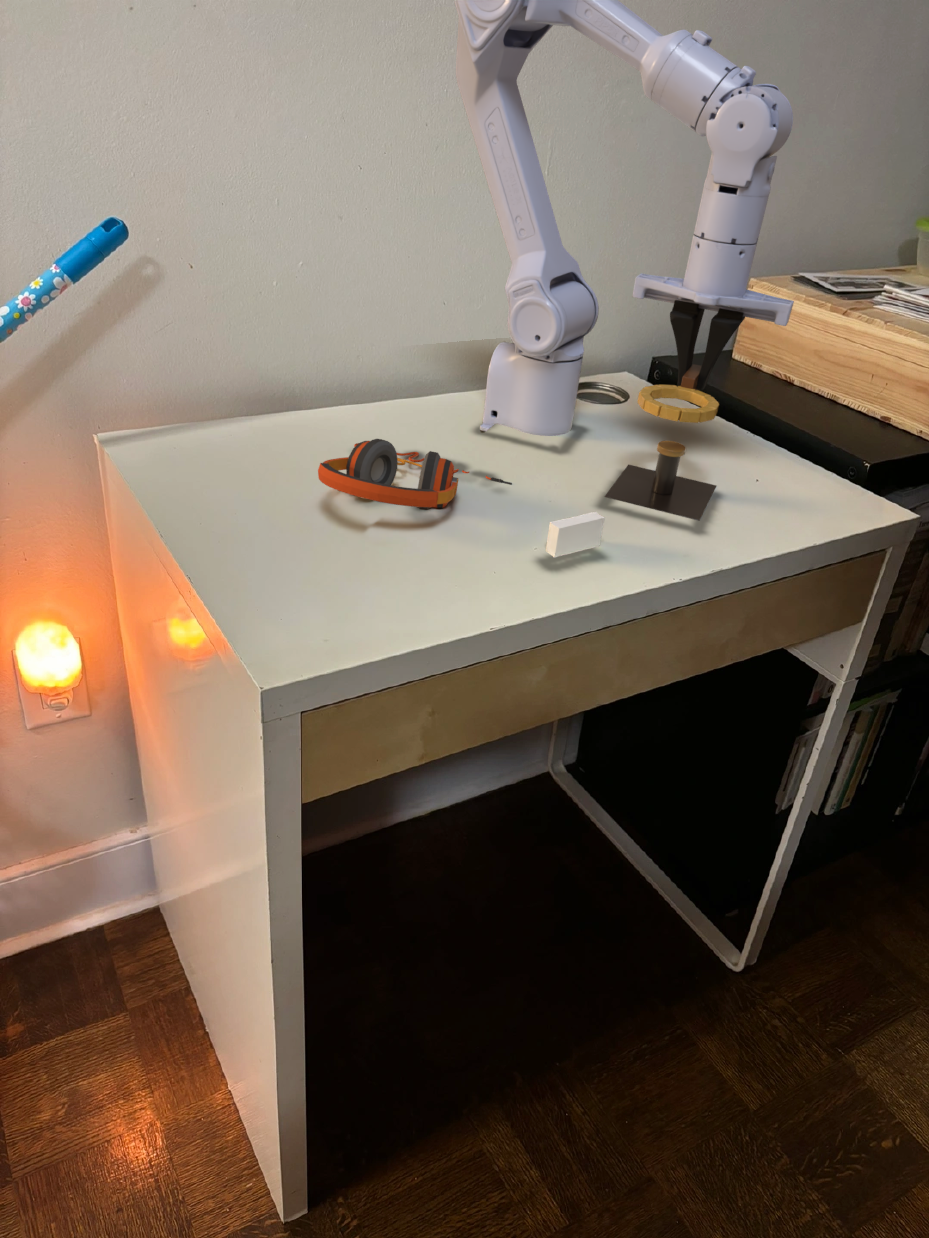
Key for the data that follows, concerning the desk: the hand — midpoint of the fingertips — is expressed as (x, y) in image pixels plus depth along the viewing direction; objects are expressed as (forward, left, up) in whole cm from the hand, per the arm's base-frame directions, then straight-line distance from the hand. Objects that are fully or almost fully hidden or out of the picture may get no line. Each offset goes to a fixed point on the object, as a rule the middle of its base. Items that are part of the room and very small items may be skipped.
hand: (691, 385), depth 91 cm
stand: (+1, -8, -9) cm, 12 cm away
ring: (0, -4, 0) cm, 4 cm away
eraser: (-3, -24, -9) cm, 26 cm away
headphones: (-20, -21, -9) cm, 31 cm away
